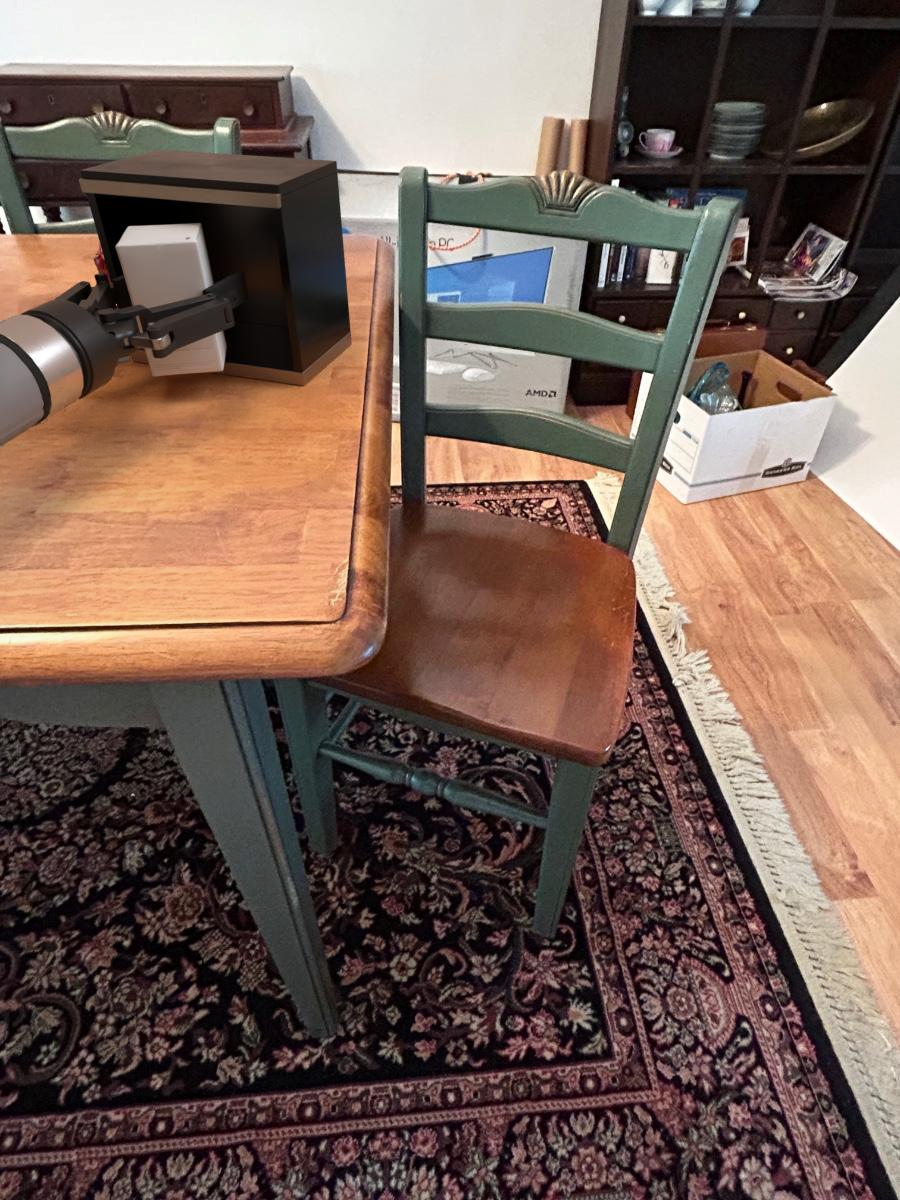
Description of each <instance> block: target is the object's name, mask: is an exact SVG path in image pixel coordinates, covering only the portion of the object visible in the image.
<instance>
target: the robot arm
mask: <svg viewBox="0 0 900 1200" xmlns="http://www.w3.org/2000/svg"><path fill="white" fill-rule="evenodd" d="M93 277H94V280H95V285H94V286H91V282H90V281H85V280H80V282H77V283H75V284H74V285H72V286H71V287H70V288H68V289H67V290H66V291H64V292H62V293H61V294H60V295H58V296H57V297H55V298H54V299H52V300H49V301H46V302H44V303H42V304H39V305H38V306H35V307H33V308H30V309H28V310H26V311H23V312H21V314H16V315H12V316H10V317H8V318H6V319H3V320H2V321H0V448H2V447H3V446H4V445H7V443H9V442H11V441H13V440H14V439H15V438H17V437H19V436H21V435H22V434H24V433H25V432H26V431H28V430H30V429H31V428H34V427H36V426H39V425H44V424H45V423H47V422H48V419H49V418H51V417H52V416H54V415H56V414H57V413H59V412H61V411H62V410H64V409H65V408H67V407H69V406H71V405H72V404H74V403H76V402H77V401H78V400H81V399H83V398H85V397H87V396H88V395H90V394H92V393H93V392H95V391H97V390H98V389H100V388H102V387H104V386H106V384H108V383H109V382H110V381H111V380H112V379H113V377H114V374H115V371H116V369H117V365H118V364H119V362H118V360H119V358H122V357H126V356H129V355H130V356H132V355H131V354H132V353H135V352H137V351H138V350H141V349H145V348H147V349H152V353H153V357H154V358H159V359H161V358H165V357H167V356H168V355H170V354H171V353H172V352H174V351H175V350H176V349H179V348H181V347H184V346H186V345H189V344H191V343H194V342H196V341H199V340H201V339H204V338H206V337H209V336H211V335H214V334H216V333H219V332H221V331H224V330H226V329H228V328H231V327H233V326H235V323H234V317H233V312H232V309H234V308H235V307H237V306H239V305H240V304H242V303H244V302H245V301H247V300H249V298H248V292H247V286H246V280H245V274H244V272H239V271H237V272H236V273H234V274H232V275H230V276H228V277H226V278H224V279H223V280H221V281H219V282H217V283H215V284H213V285H211V286H210V287H208V288H206V289H204V290H202V292H203V295H202V296H198V297H193V298H189V299H185V300H181V301H177V302H173V303H168V304H164V305H160V306H156V307H152V308H147V307H145V306H143V305H135V306H132V302H131V298H130V294H129V291H128V287H127V284H126V280H125V277H124V275H122V276H119V277H117V278H115V279H113V280H112V282H111V283H109V280H108V276H107V274H105V273H99V272H98V273H96V274H94V276H93ZM116 302H118V305H119V308H122V309H118V308H117V307H116V304H115V303H116ZM130 306H131V307H130ZM134 316H139V320H140V323H141V327H142V331H143V333H140V330H139V327H138V323H137V320H136V318H135V317H134Z"/></svg>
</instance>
